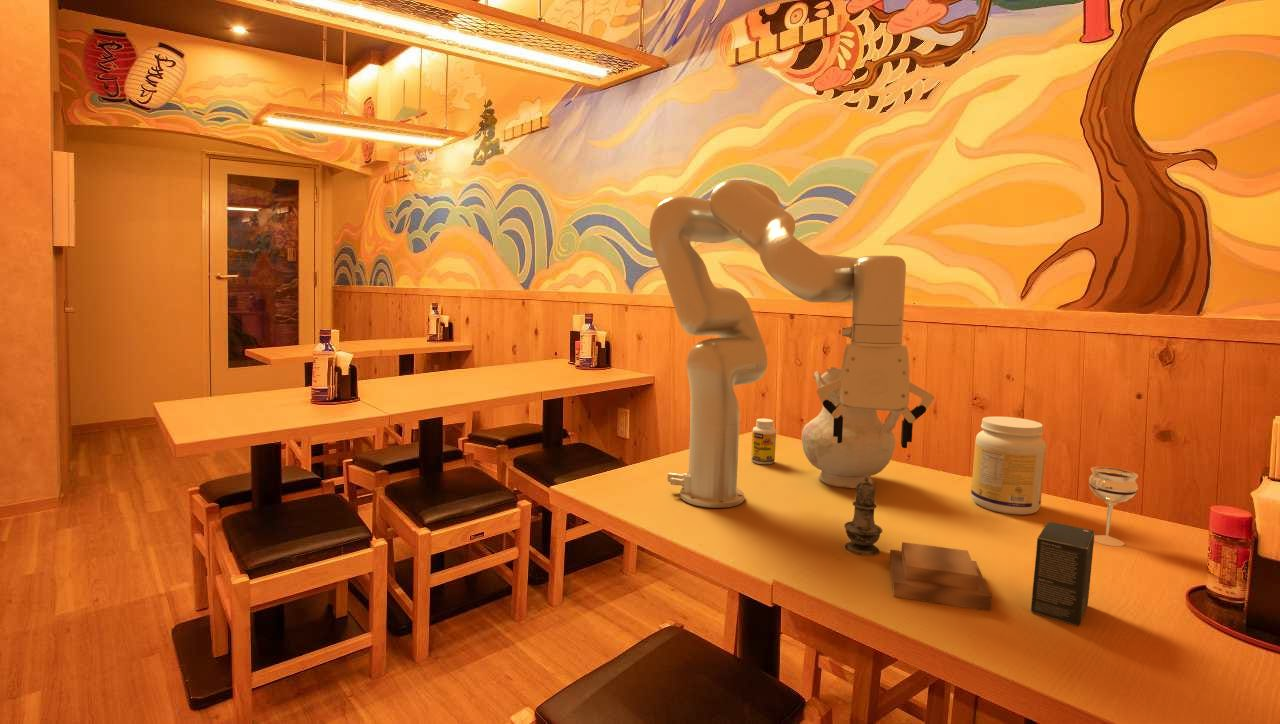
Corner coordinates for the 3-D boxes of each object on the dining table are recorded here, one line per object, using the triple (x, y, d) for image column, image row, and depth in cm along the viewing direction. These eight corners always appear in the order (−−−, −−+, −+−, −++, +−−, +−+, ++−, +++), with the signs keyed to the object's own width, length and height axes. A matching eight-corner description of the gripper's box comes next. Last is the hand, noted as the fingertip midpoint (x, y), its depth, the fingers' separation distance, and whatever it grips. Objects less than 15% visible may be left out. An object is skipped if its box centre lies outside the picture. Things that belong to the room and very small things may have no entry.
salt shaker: (883, 558, 105) (888, 483, 103) (844, 554, 106) (849, 480, 104) (878, 543, 110) (882, 473, 109) (841, 540, 111) (845, 470, 110)
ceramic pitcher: (915, 489, 144) (926, 374, 143) (880, 503, 130) (892, 375, 128) (822, 469, 158) (832, 365, 157) (782, 480, 144) (791, 365, 142)
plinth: (893, 596, 92) (895, 568, 91) (889, 562, 103) (891, 537, 103) (990, 611, 88) (993, 582, 88) (974, 573, 99) (977, 548, 99)
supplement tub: (990, 492, 140) (997, 413, 138) (1052, 509, 130) (1060, 424, 128) (957, 502, 133) (964, 418, 131) (1020, 520, 123) (1028, 431, 121)
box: (1040, 592, 94) (1047, 520, 93) (1088, 605, 90) (1096, 530, 89) (1029, 612, 88) (1036, 535, 87) (1079, 627, 84) (1088, 547, 83)
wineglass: (1122, 536, 116) (1130, 469, 115) (1137, 550, 110) (1145, 480, 108) (1077, 530, 118) (1084, 465, 117) (1089, 544, 112) (1097, 475, 110)
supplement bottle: (748, 463, 157) (750, 421, 156) (753, 458, 163) (755, 416, 161) (772, 466, 156) (774, 423, 154) (776, 460, 161) (778, 419, 159)
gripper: (817, 335, 103) (813, 444, 105) (939, 339, 98) (933, 453, 99) (820, 333, 110) (816, 435, 112) (934, 336, 105) (927, 443, 107)
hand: (871, 443), depth 106 cm, fingers open, 9 cm apart
